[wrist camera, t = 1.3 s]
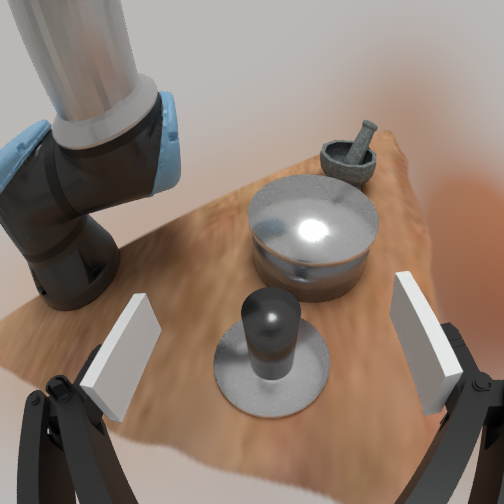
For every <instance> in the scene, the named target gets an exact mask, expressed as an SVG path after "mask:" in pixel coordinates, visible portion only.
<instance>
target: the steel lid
mask: <svg viewBox="0 0 504 504" xmlns="http://www.w3.org/2000/svg"><path fill="white" fill-rule="evenodd" d="M300 316H301V308H300V304H299V302H298V300H297V299H296V298H295V296H294V295H292V294H291V293H290V292H288V291H286V290H284V289H281V288H277V287H266V288H262V289H259V290H256V291H255V292H253V293H252V294H250V295H249V296H248V297H247V298H246V300H245V301H244V303H243V305H242V309H241V317H242V320H240V321H238V322H237V323H236V324H234V325H233V326H232V327H231V328H230V329H229V330H228V331H227V332H226V333H225V334H224V335H223V337H222V339H221V340H220V342H219V344H218V346H217V349H216V352H215V357H214V372H215V377H216V380H217V383H218V385H219V387H220V389H221V391H222V392H223V394H224V395H225V397H226V398H227V399H228V400H229V401H230V402H231V403H232V404H233V405H234V406H235V407H236V408H238V409H239V410H241V411H243V412H245V413H247V414H249V415H252V416H255V417H259V418H266V419H276V418H283V417H287V416H291V415H293V414H296V413H298V412H300V411H302V410H303V409H305V408H306V407H308V406H309V405H310V404H311V403H312V402H313V401H314V400H315V399H316V398H317V397H318V395H319V394H320V392H321V391H322V389H323V387H324V385H325V383H326V381H327V378H328V374H329V370H330V356H329V351H328V348H327V345H326V343H325V341H324V339H323V337H322V336H321V334H320V333H319V332H318V331H317V330H316V328H315V327H313V326H312V325H311V324H310V323H308V322H307V321H305V320H304V319H302V318H300Z"/></svg>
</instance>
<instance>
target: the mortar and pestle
mask: <svg viewBox="0 0 504 504" xmlns="http://www.w3.org/2000/svg"><path fill="white" fill-rule="evenodd" d="M377 128H378V127H377V126H376V125H375V124H374V123H372V122H371V121H368V120H364V121H363V126H362V128H361V130H360V132H359V134H358V136H357V138H356V139H355V141H354V142H353V141H344V140H334V141H331V142H328V143H325V144H324V145H323V147H322V149H321V154H320V161H321V167H322V169H323V171H324V173H325V174H326V175H327V176H328V177H331V178H335V179H338V180H341V181H344V182H346V183H348V184H350V185H352V186H354V187H355V188H357V189H358V190H360V191H361V184H363V183H365V182H367V181H368V180H369V179H370V178H371V177H372V175H373V173H374V170H375V166H376V154H375V153H374V152H373V151H372V150H371V149H370V148H369V144H370V142H371V139H372V136H373V134H374V132H375V131H376V130H377Z"/></svg>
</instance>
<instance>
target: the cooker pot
mask: <svg viewBox="0 0 504 504" xmlns="http://www.w3.org/2000/svg"><path fill="white" fill-rule="evenodd" d="M248 220H249V227H250V230H251V233H252V236H253V247H254V259H255V266H256V269H257V272H258V274H259V276H260V277H261V279H262V280H263V281H264V282H265V284H266V285H267V286H269V287H277V288H281V289H284V290H286V291H288V292H290V293H291V294H292V295H294V296H295V298H296V299H297V300H298V301H300V302H325V301H329V300H333V299H335V298H338V297H340V296H342V295H344V294H345V293H347V292H348V291H350V290H351V289H352V288H353V287H354V286H355V284H356V283H357V282H358V280H359V278H360V276H361V274H362V271H363V268H364V265H365V262H366V259H367V256H368V252H369V249H370V247H371V246H372V244H373V243H374V240H375V238H376V235H377V232H378V228H379V218H378V214H377V211H376V208H375V207H374V205H373V203H372V202H371V201H370V199H369V198H368V197H367V196H366V195H365V194H364V193H362V192H361V191H360V190H358V189H357V188H355V187H354V186H352V185H350V184H348V183H346V182H344V181H341V180H338V179H335V178H331V177H327V176H322V175H309V174H304V175H293V176H288V177H284V178H280V179H277V180H275V181H273V182H271V183H269V184H267V185H265V186H264V187H263V188H261V189H260V190H259V191H258V192H257V193H256V194H255V195H254V197H253V198H252V200H251V202H250V205H249V208H248Z"/></svg>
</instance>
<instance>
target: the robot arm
mask: <svg viewBox="0 0 504 504" xmlns="http://www.w3.org/2000/svg"><path fill="white" fill-rule="evenodd" d="M8 2H9V6H10V8H11V11H12V14H13V17H14V19H15V22H16V25H17V27H18V30H19V32H20V35H21V37H22V40H23V42H24V44H25V46H26V49H27V51H28V53H29V56H30V58H31V60H32V62H33V65H34V67H35V69H36V71H37V73H38V75H39V78H40V80H41V82H42V84H43V86H44V88H45V90H46V92H47V94H48V96H49V98H50V100H51V102H52V103H53V106H54V107H55V109H56V111H57V115H56V117H55V120H54V123H53V128H52V129H51V124H50V123H49V122H48V121H47V120H42V121H39V122H37V123H35V124H33V125H31V126H30V127H28V128H27V129H25V130H24V131H23V132H21V133H20V134H19V135H17V136H16V137H15V138H14V139H12V140H11V141H10V142H9V143H8V144H6V145H5V146H4V147H3V148H2V149H1V150H0V224H1V225H2V227H3V228H4V230H5V231H6V233H7V234H8V235H9V237H10V238H11V240H12V241H13V242H14V244H15V245H16V246H17V248H18V249H19V251H20V252H21V253H22V255H23V256H24V257H25V259H26V260H27V262H28V265H29V268H30V271H31V274H32V277H33V279H34V282H35V285H36V287H37V290H38V292H39V294H40V295H41V297H42V298H43V299H44V300H45V301H46V302H47V303H48V304H49V305H50V306H51V307H53V308H55V309H58V310H73V309H77V308H79V307H82V306H84V305H86V304H88V303H89V302H91V301H93V300H94V299H95V298H97V297H98V296H99V295H100V294H101V293H102V292H103V291H104V290H105V289H106V288H107V287H108V285H109V284H110V283H111V281H112V279H113V278H114V276H115V274H116V272H117V269H118V266H119V260H120V255H119V250H118V247H117V245H116V243H115V242H114V239H113V238H112V236H111V235H110V234H109V233H108V232H107V231H106V230H105V229H104V228H103V227H102V226H101V225H100V224H98V223H97V222H96V221H95V220H94V219H93V218H92V217H91V216H90V215H89V213H93V212H96V211H99V210H103V209H106V208H110V207H113V206H117V205H120V204H123V203H127V202H131V201H134V200H138V199H142V198H146V197H152V196H153V195H154V194H156V193H159V192H162V191H165V190H169V189H171V188H173V187H174V186H176V184H177V183H178V182H179V180H180V176H181V160H180V146H179V138H178V126H177V117H176V109H175V103H174V98H173V95H172V94H171V93H170V92H163V91H160V92H158V90H157V86H156V84H155V82H154V81H153V80H152V79H151V78H150V77H148V76H146V75H144V74H141V73H137V70H136V66H135V62H134V58H133V54H132V50H131V46H130V42H129V37H128V33H127V29H126V25H125V20H124V16H123V11H122V7H121V2H120V0H8ZM390 317H391V319H392V322H393V324H394V327H395V330H396V332H397V335H398V337H399V340H400V343H401V345H402V348H403V351H404V354H405V356H406V359H407V362H408V365H409V368H410V371H411V374H412V377H413V380H414V383H415V386H416V389H417V392H418V395H419V399H420V402H421V405H422V409H423V412H424V416H427V415H431V414H434V413H438V412H441V410H442V408H443V407H444V405H445V406H446V409H447V413H446V415H445V416H444V418H443V419H442V421H441V422H440V424H441V425H440V427H439V429H438V431H437V433H436V435H435V437H434V439H433V441H432V443H431V445H430V447H429V449H428V451H427V452H426V454H425V456H424V458H423V460H422V461H421V463H420V465H419V466H418V468H417V470H416V471H415V473H414V475H413V476H412V478H411V480H410V481H409V483H408V484H407V486H406V487H405V489H404V490H403V492H402V493H401V495H400V496H399V498H398V499H397V500H396V502H395V503H394V504H447V503H448V501H449V499H450V497H451V496H452V494H453V492H454V490H455V488H456V486H457V484H458V482H459V480H460V478H461V476H462V474H463V472H464V470H465V467H466V465H467V463H468V461H469V459H470V456H471V454H472V452H473V449H474V447H475V444H476V442H477V439H478V437H479V434H480V431H481V428H482V426H483V428H482V436H481V444H480V450H479V456H478V462H477V467H476V472H475V477H474V481H473V486H472V489H471V493H470V497H469V501H468V504H504V380H492V379H491V377H490V376H489V375H487V374H486V373H484V372H480V371H479V369H478V367H477V365H476V363H475V361H474V359H473V357H472V355H471V353H470V351H469V349H468V348H467V346H466V344H465V342H464V340H463V339H462V336H461V335H460V333H459V331H458V329H457V328H455V327H454V326H453V325H452V324H451V323H444V324H439V322H438V320H437V318H436V317H435V315H434V313H433V311H432V309H431V307H430V306H429V304H428V302H427V300H426V299H425V297H424V295H423V294H422V292H421V290H420V288H419V287H418V285H417V283H416V282H415V280H414V278H413V277H412V275H411V274H410V272H409V271H405V272H397V273H395V281H394V288H393V296H392V302H391V309H390ZM161 331H162V330H161V328H160V325H159V323H158V321H157V319H156V316H155V314H154V312H153V309H152V307H151V305H150V302H149V300H148V297H147V295H146V293H139V294H134V295H133V297H132V298H131V300H130V301H129V303H128V304H127V306H126V307H125V309H124V311H123V312H122V314H121V315H120V317H119V319H118V320H117V322H116V323H115V325H114V327H113V328H112V330H111V332H110V333H109V335H108V336H107V338H106V340H105V341H104V343H103V345H102V344H99V345H98V346H97V347H96V348H95V349H94V350H93V351H92V352H91V354H90V355H89V357H88V360H87V361H86V362H85V364H84V366H83V367H82V369H81V371H80V372H79V374H78V376H77V378H76V379H75V381H74V383H73V385H72V384H71V383H70V381H69V380H68V379H67V377H65V376H64V375H57V376H54V377H53V378H51V379H50V380H49V382H48V383H47V385H46V392H47V393H48V394H49V395H50V396H48V397H47V396H46V395H45V394H44V393H43V392H42V391H41V390H36V391H33V392H32V393H31V394H29V396H28V397H27V400H26V404H25V409H24V415H23V422H22V429H21V437H20V446H19V456H18V457H19V458H18V472H17V504H76V496H75V491H76V494H77V497H78V500H79V503H80V504H138V502H137V500H136V498H135V496H134V494H133V492H132V490H131V487H130V485H129V483H128V481H127V479H126V477H125V475H124V472H123V470H122V468H121V465H120V463H119V460H118V458H117V456H116V453H115V451H114V448H113V446H112V443H111V440H110V437H109V435H108V432H107V429H106V426H105V423H104V421H103V420H102V419H101V418H102V415H103V413H104V414H105V416H106V417H107V418H108V419H109V420H112V421H117V422H123V419H124V417H125V414H126V412H127V409H128V407H129V405H130V402H131V400H132V397H133V395H134V392H135V390H136V388H137V385H138V383H139V381H140V378H141V376H142V374H143V371H144V369H145V367H146V364H147V362H148V360H149V357H150V355H151V353H152V351H153V348H154V346H155V344H156V342H157V339H158V337H159V335H160V333H161ZM47 429H49V434H48V433H47Z"/></svg>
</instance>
